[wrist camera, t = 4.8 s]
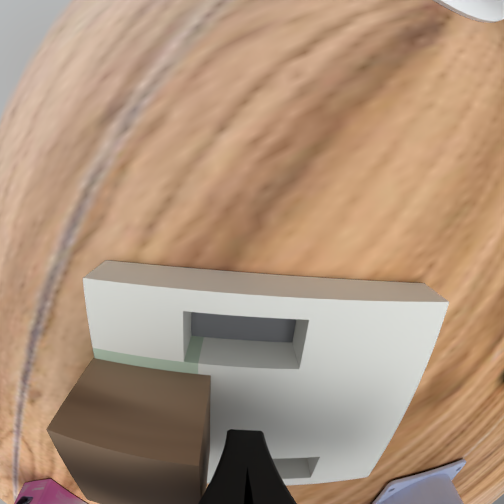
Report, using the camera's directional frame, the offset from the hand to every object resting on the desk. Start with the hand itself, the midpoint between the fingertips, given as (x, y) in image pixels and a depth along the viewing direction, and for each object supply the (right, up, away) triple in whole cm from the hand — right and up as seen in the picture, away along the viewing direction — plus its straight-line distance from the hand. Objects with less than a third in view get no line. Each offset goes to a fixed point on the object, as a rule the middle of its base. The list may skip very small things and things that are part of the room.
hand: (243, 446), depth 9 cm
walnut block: (-4, +1, +1) cm, 4 cm away
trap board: (+1, +1, +3) cm, 3 cm away
